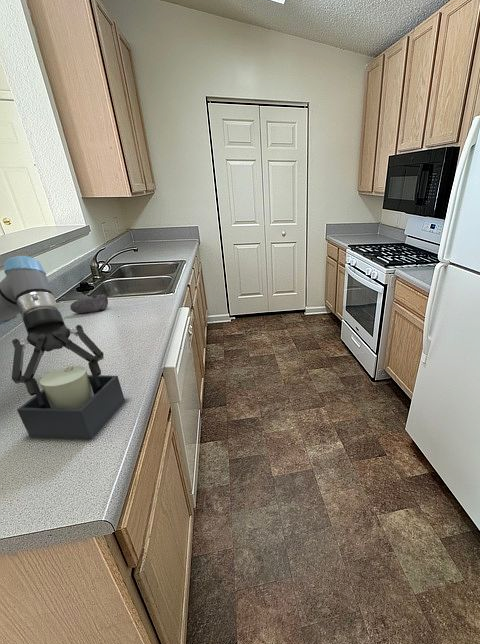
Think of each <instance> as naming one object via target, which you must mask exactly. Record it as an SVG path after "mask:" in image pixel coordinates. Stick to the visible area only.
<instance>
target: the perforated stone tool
mask: <svg viewBox="0 0 480 644" xmlns="http://www.w3.org/2000/svg"><path fill="white" fill-rule="evenodd" d="M108 305H109V299H108V295H107V294H105V293H103V294H95V295H90V296H87V297H82V298H80V299H77V300H75V301H73V302H71V304H70V310H71V312H73V313H75V314H85V313H89V314H90V313H94V312H98V311H104V310H106V308H108Z"/></svg>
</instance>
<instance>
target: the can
mask: <svg viewBox="0 0 480 644" xmlns="http://www.w3.org/2000/svg"><path fill="white" fill-rule="evenodd" d="M88 375H89V374H88V372H87V368H86V367H85V366H82V365H79V364H78V365H77V364H74V365H73V364H72V365H65V366H62V367H58V368H55V369H52V370H50V371H49V372H47V373H45V374H44V375H42V376H41V377H40V379H39V385H40V386H41V388H42V390H44V393H45V395H46V397H47V399H48V402H49V404H50V407H51V408H57V409H80V408H81V407H83V406H84V405H85V404H86V403H87V402H88V401H89V400H90V399H91V398H92V397H93V396H94V393H93V390H92V387H91V384H90V381H89V378H88Z"/></svg>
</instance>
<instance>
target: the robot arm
mask: <svg viewBox="0 0 480 644" xmlns="http://www.w3.org/2000/svg"><path fill="white" fill-rule="evenodd" d="M3 270H4V271H3V272H4V274H5V277H4V278H2V279H1V281H0V325H5V324H9V322H10V321H12V320H14V319H16V318H17V316H18V315H19V314H20V317H21V318H22V322H23V324H24V328H25V330H26V333H27V337H26V338H22V339H19V338H13V339H12V341H11V343H12V345H13V348H14V353H13V361H12V371H11V380H12V381H13V383H14V384H16V385H17V384H24V385H25V388H26V390H27V393H28V395H30V396H33V397H34V396H35V395H36V396H37V399H38V402H39V405H40V407H41V408H45V407H46V406H45V403H44V400H43V398H42V395H41V389H40V387H39V384H38V381H37V379H36V378H35V374H36V373H37V370H38V367H39V364H40V362H41V359H42V357H44V354H45V352H47V353H48V352H52V351H54V350H61V349H63V348H65V349H67V350H69V351H71V352H73V353H74V354H76V355H77V356H79V357H80V358H82V359H84V360H85V361H86V362H87V364H88V368H89V371H90V373H91V375H92V376H93V378H94V381H95V383H96V386H97V389H98V390H100V389H101V384H100V381H99V379H98V375H102V370H101V367H100V364H99V362H100V361H102V360H104V359H105V358H104V352H103V351H102V350H101V349H100V348H99V347H98V346H97V345H96V343H94V341H93V340H92V339H91V338H90V337H89V336H88V335H87V334H86V333H85V331H84V328H83V326H82V325H81V324H77V325H76V326H75V327H71V328H69V327H68V326H66V323H65V320H64V318H63V316H62V313H61V311H60V307H59V306H58V302H57V300H56V298H55V295H54V292H53V290H52V288H51V285H50V282H49V280H48V276H47V273H46V271H45V270H44V267H43V266H42V264H41V262H40V261H39V260H38V259H36V258H35V257H32V256H28V255H17V256H12V257H9V258H8V259H6V260H5V262H4V263H3ZM71 335H74V336H75V337H78V338H79V340H80V341H81V342H82V343H83V344H84V345H85V347H87V348H88V349H89V350H90V352H91V353H90V352H89V351H87V350H85V349H84V348H82V347H81V346H80V345H78V344H77V343H75V342H74V341H72V340H71V339H69V338H70V336H71ZM28 344H29V345H31V346H33V347H34V348H33V352H32V355H31V357H30V359H29V362H28V364H27V366H26V368H25V371H24V374H23V366H24V358H25V357H24V356H25V351H24V350H25V349H27V346H28Z"/></svg>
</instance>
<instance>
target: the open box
mask: <svg viewBox="0 0 480 644" xmlns="http://www.w3.org/2000/svg"><path fill="white" fill-rule="evenodd" d="M87 375H88V378H89V381H90V384H91V387H92V390H93V393H94V396H93V397H92V398H91V399H90V400H89V401H88V402H87V403H86V404H85V405H84V406H83V407H81V408H80V409H57V408H51V407H50V404H49V402H48V399H47V397H46V395H45V393H44V390H43V389H42V390H40V392H41V395H42V398H43V400H44V403H45V406H46V407H45V408H41V407H40V405H39V402H38V399H37V396H36V395H33V397H31V398H30V399H29V400H28V401H26V402H25V403H23V404H22V405H21V406H20V407H18V408H17V409H16V412H17V413H18V415H19V418H20V419H21V421H22V422H21V423H22V424H23V426H24V428H25V430H26V432H27V434H28V436H29V438H30V439H57V440H58V439H59V440H60V439H61V440H63V439H65V440H67V439H68V440H93V439H94V438H95V436H96V435H97V434H98V433H99V432H100V430H102V428H103V427H104V426H105V425H106V424H107V423H108V422H109V421H110V419H111V418H112V417H113V416H114V415H115V414H116V412H117V411H118V410H119V409H120V408H121V407H122V405H123V404H124V403H125V402H126V399H125V395H124V393H123V389H122V386H121V383H120V379H119V376H118V375H106V374H105V375H104V374H103V375H102V374H101V375H98V379H99V381H100V384H101V389H100V390H98V389H97V386H96V383H95V381H94V378H93V376H92V374H87Z"/></svg>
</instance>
